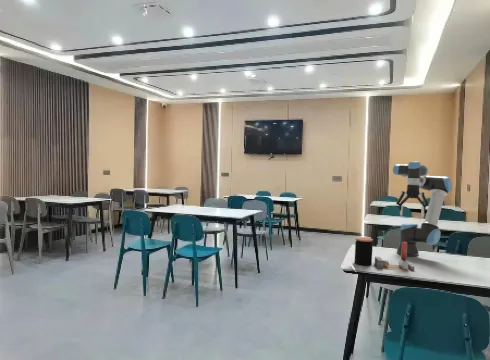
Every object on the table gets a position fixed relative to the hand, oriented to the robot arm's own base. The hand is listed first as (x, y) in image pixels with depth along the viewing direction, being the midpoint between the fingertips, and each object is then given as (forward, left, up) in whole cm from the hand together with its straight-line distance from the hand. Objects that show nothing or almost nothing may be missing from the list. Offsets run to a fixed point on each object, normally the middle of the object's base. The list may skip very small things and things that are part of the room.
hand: (411, 215), depth 245 cm
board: (+18, -15, -33) cm, 40 cm away
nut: (+18, -20, -31) cm, 41 cm away
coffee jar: (+14, -33, -33) cm, 49 cm away
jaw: (+18, -9, -31) cm, 37 cm away
